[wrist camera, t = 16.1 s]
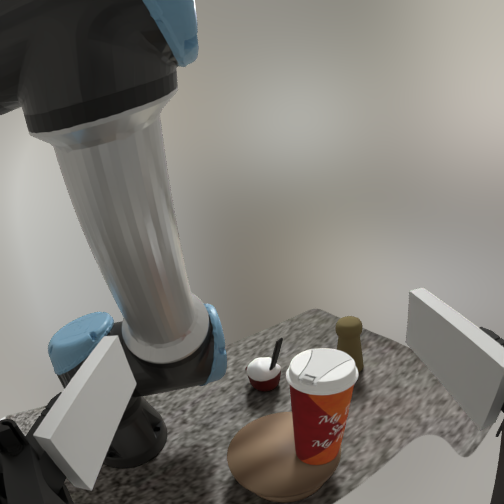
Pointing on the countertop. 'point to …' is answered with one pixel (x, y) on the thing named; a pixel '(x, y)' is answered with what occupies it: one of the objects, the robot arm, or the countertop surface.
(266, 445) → the pedestal stand
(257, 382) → the cocoa
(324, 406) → the paper cup
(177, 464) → the countertop surface
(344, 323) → the cork
